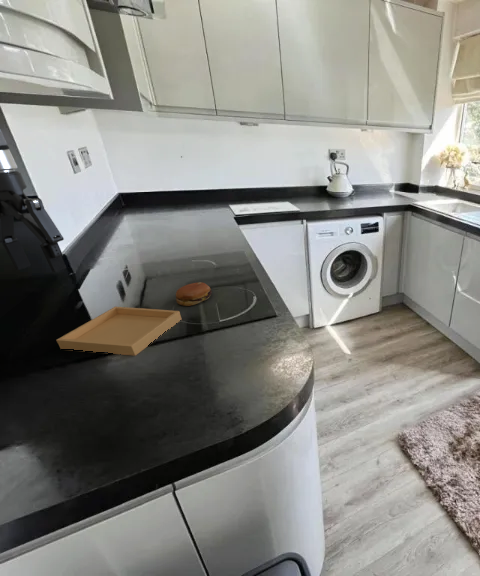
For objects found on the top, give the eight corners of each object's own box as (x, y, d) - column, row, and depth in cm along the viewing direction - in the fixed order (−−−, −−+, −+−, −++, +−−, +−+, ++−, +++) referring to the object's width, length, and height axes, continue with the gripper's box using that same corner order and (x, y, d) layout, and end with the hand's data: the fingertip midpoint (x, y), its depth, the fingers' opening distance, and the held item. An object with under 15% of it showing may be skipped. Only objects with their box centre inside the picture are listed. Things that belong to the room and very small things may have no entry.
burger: (172, 307, 97) (168, 294, 95) (184, 294, 105) (180, 281, 103) (207, 305, 99) (204, 291, 97) (216, 292, 107) (213, 279, 105)
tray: (60, 349, 78) (55, 340, 77) (118, 314, 93) (115, 306, 92) (135, 355, 77) (131, 346, 75) (181, 319, 91) (179, 310, 90)
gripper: (57, 170, 71) (96, 265, 81) (-29, 168, 73) (19, 261, 83) (19, 175, 64) (66, 277, 74) (-75, 172, 66) (-17, 272, 76)
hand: (41, 268), depth 79 cm, fingers open, 9 cm apart
